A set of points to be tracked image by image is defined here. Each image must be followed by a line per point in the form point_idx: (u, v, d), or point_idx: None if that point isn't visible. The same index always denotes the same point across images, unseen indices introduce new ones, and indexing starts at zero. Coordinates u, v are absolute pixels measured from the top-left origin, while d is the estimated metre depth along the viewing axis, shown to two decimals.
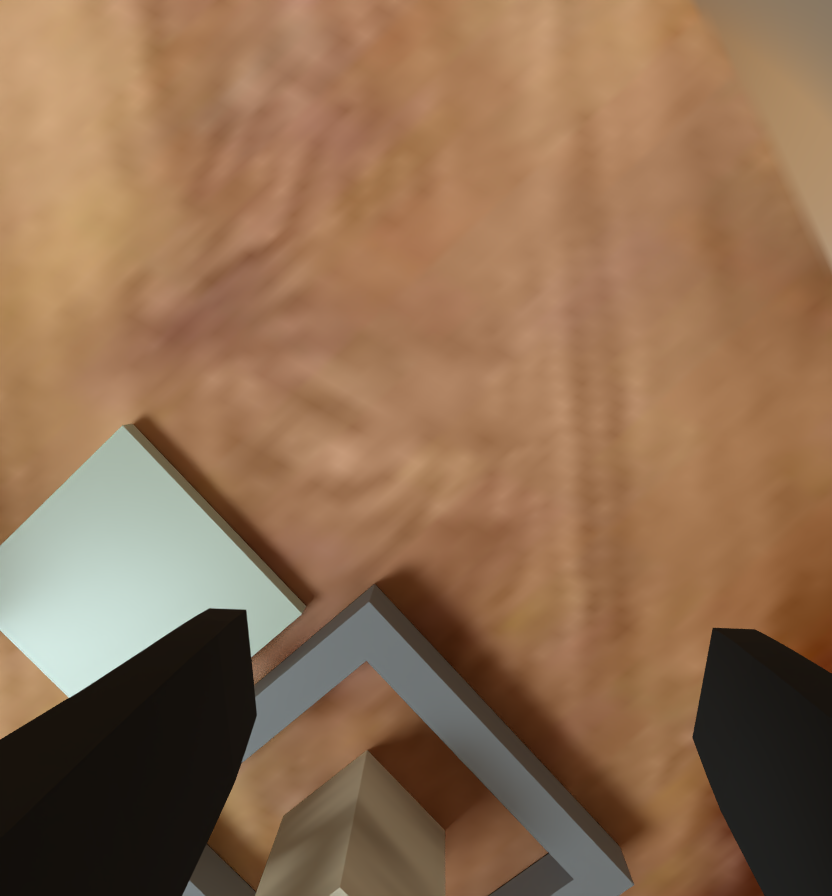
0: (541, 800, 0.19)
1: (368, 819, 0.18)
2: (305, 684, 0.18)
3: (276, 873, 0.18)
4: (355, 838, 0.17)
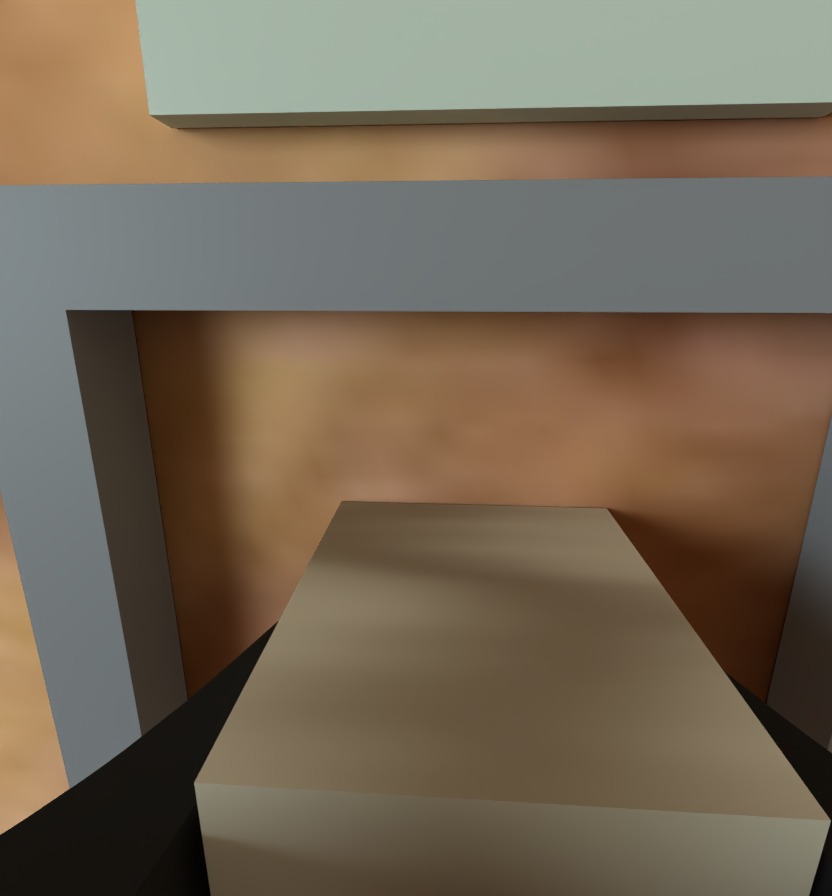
0: None
1: None
2: (767, 249, 0.06)
3: (366, 598, 0.06)
4: (708, 672, 0.05)
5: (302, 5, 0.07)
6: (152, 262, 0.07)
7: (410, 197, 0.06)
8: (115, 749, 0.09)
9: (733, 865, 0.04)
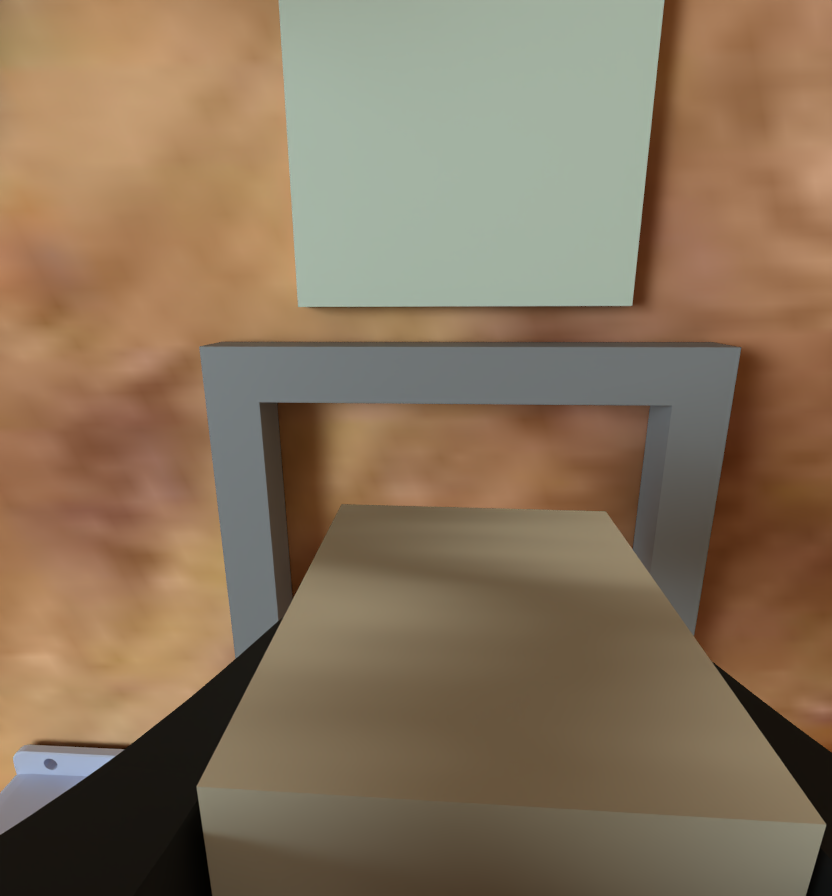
0: None
1: None
2: (588, 377, 0.14)
3: (366, 602, 0.06)
4: (705, 676, 0.05)
5: (374, 261, 0.14)
6: (303, 381, 0.14)
7: (426, 353, 0.14)
8: (263, 632, 0.17)
9: (730, 868, 0.04)
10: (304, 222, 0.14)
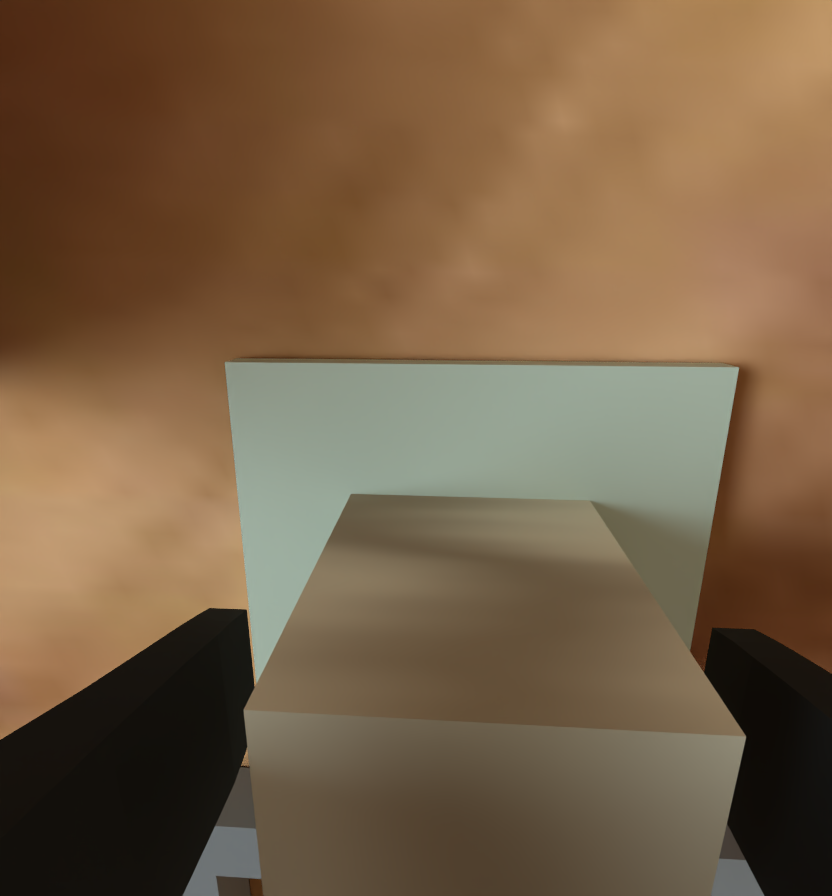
0: None
1: None
2: None
3: (376, 575, 0.07)
4: (665, 635, 0.06)
5: None
6: None
7: None
8: None
9: (671, 775, 0.05)
10: None
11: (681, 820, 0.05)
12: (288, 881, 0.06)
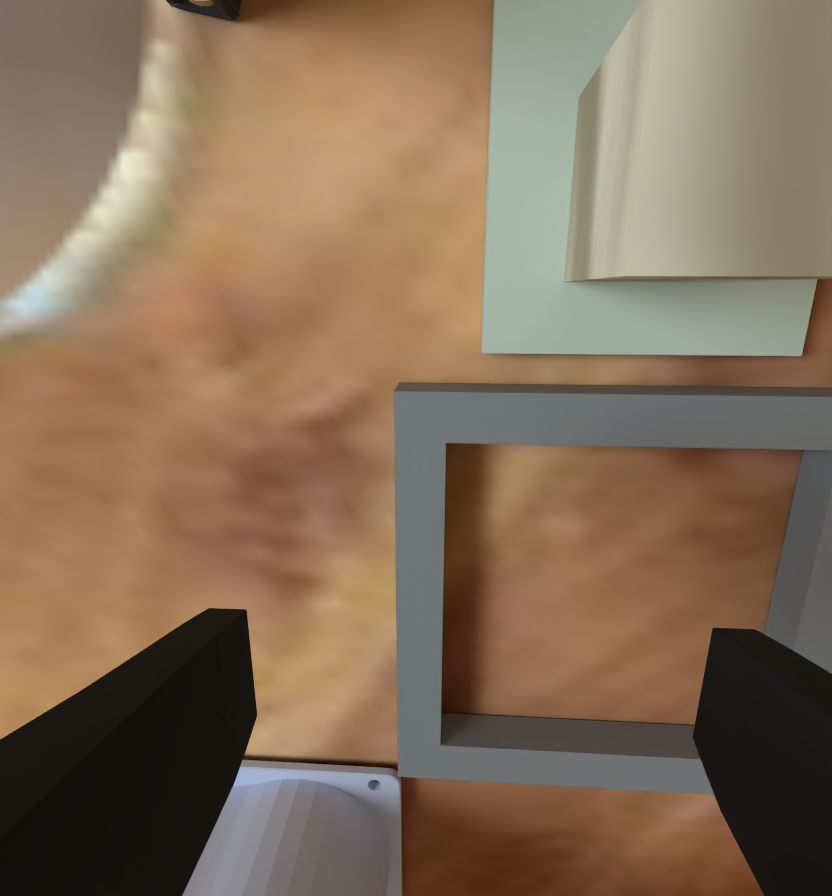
0: None
1: None
2: (763, 423, 0.15)
3: None
4: None
5: (559, 312, 0.15)
6: (490, 424, 0.15)
7: (610, 400, 0.15)
8: (426, 654, 0.18)
9: None
10: (496, 276, 0.15)
11: None
12: (659, 128, 0.09)
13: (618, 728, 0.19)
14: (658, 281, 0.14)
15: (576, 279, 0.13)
